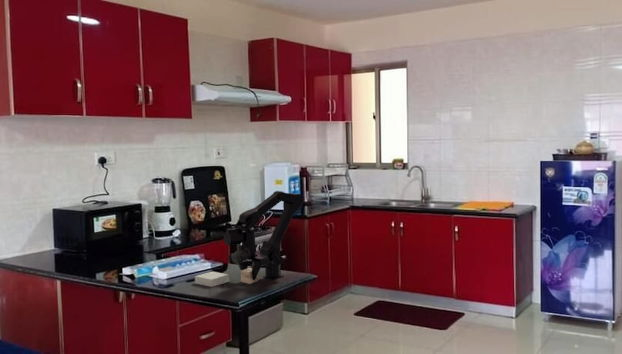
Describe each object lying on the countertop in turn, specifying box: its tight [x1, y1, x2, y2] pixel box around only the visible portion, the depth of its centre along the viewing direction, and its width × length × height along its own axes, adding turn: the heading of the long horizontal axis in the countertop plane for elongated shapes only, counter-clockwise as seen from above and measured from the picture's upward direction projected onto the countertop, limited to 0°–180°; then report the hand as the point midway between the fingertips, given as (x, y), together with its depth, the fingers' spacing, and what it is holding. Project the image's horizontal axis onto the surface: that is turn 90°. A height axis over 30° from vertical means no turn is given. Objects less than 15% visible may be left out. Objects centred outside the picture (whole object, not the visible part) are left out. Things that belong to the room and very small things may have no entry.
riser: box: [194, 271, 230, 288], centre depth 243 cm, size 10×10×3 cm
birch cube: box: [240, 267, 259, 285], centre depth 244 cm, size 5×5×5 cm
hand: (249, 279), depth 244 cm, fingers closed on birch cube, 5 cm apart
